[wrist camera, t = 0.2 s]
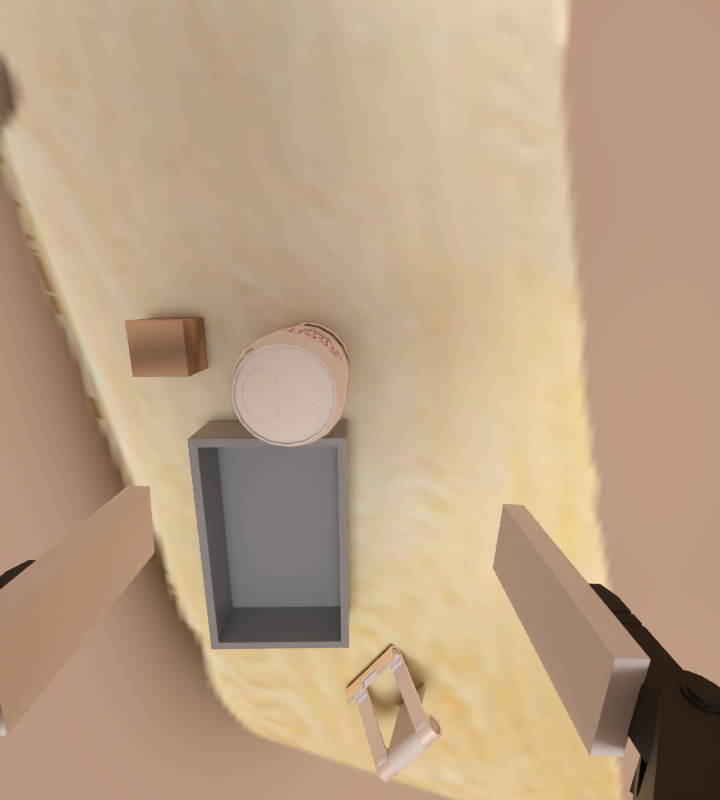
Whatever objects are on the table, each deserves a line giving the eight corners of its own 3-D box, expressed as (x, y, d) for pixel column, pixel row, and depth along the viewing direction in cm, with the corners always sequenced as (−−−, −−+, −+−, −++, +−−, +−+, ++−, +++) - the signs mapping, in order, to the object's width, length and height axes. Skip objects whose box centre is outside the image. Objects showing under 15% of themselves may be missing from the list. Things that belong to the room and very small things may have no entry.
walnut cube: (153, 318, 40) (125, 320, 35) (203, 318, 40) (182, 320, 35) (159, 367, 41) (133, 376, 36) (208, 367, 41) (188, 376, 36)
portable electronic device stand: (389, 642, 50) (396, 708, 41) (436, 674, 51) (451, 745, 43) (345, 684, 51) (344, 757, 43) (391, 714, 52) (398, 790, 44)
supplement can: (273, 401, 42) (228, 456, 27) (267, 322, 40) (216, 334, 25) (350, 400, 42) (347, 453, 27) (348, 320, 40) (344, 332, 25)
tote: (209, 420, 42) (187, 439, 37) (347, 420, 42) (346, 438, 37) (228, 608, 48) (211, 649, 42) (349, 606, 48) (348, 647, 42)
